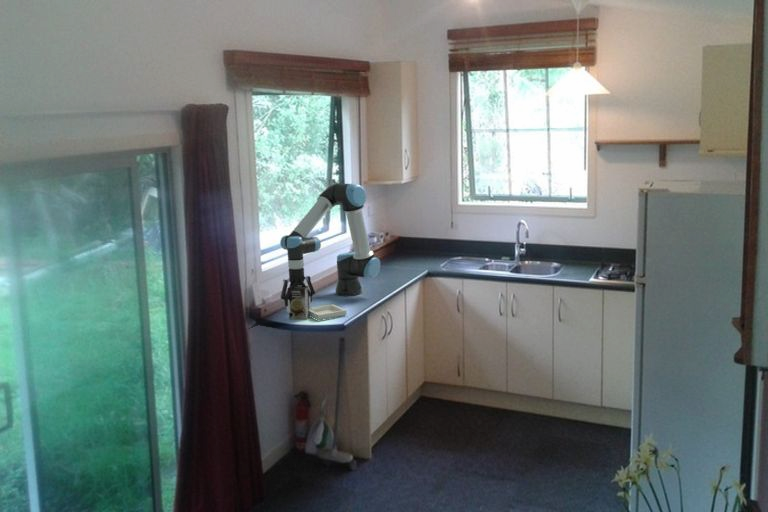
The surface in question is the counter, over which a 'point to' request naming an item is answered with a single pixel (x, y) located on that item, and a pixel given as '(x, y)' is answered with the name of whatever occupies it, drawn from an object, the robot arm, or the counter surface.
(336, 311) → the tray
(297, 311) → the coffee box
